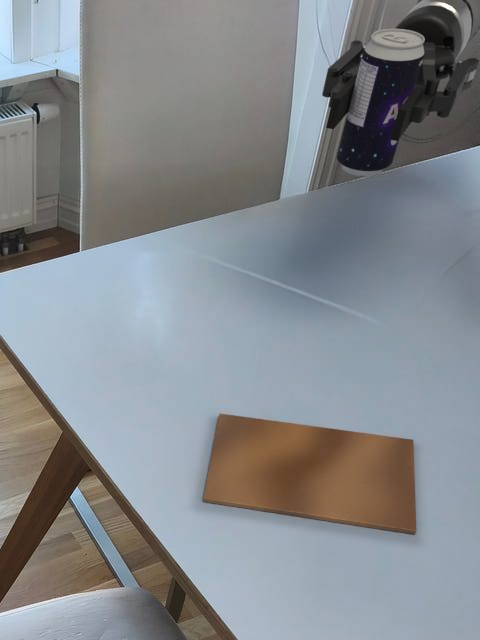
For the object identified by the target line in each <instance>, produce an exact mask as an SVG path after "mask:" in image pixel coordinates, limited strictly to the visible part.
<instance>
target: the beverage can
mask: <svg viewBox="0 0 480 640" xmlns="http://www.w3.org/2000/svg"><path fill="white" fill-rule="evenodd" d="M424 41H425V38H424V37H423V35H421V34H419V33H417V32H414V31H411V30H405V29H395V28H384V29H379V30H376V31H374V32H373V33H372V34H371V36H370V40H369V41H368V43H367V44H366V47H365V48H364V50H363V54H362V58H361V62H360V66H359V70H358V74H357V78H356V82H355V86H354V90H353V94H352V98H351V102H350V106H349V109H348V113H347V114H346V116H345V117H346V118H345V122H344V126H343V130H342V134H341V137H340V142H339V146H338V149H337V154H336V160H337V161H338V163H339V164H340V165H341V169H342V170H343V171H344V172H345V173H347V174H350V175H352V176H356V177H374V176H377V175H380V174H381V173H382V172H383V171H384V170H386V169H387V168H389V167H390V166H391V165H392V164H393V162H394V159H395V155H396V151H397V148H398V145H399V141H400V139H399V140H398V141H395V140H390V138H391V135H392V131H393V128H394V124H395V121H396V118H397V114H398V111H399V109H400V107H401V106H402V105H403V103H404V102H405V101H406V99H407V98H408V97H409V95H410V94H411V93H412V92H413V91H414V89H415V85H416V82H417V79H418V75H419V72H420V69H421V65H422V62H423V59H424V55H425V54H424V47H423V43H424Z"/></svg>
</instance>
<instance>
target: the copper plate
mask: <svg viewBox="0 0 480 640" xmlns="http://www.w3.org/2000/svg"><path fill="white" fill-rule="evenodd" d="M414 445H415V444H414V439H413V438H412V439H411V438H403V437H396V436H390V435H381V434H375V433H373V434H372V433H367V432H359V431H351V430H344V429H339V428H338V429H337V428H331V427H322V426H316V425H308V424H302V423H293V422H288V421H287V422H286V421H279V420H273V419H272V420H271V419H263V418H256V417H249V416H241V415H234V414H227V413H219V414H218V418H217V425H216V430H215V434H214V440H213V445H212V449H211V450H212V451H211V455H210V456H211V457H210V461H209V465H208V472H207V477H206V483H205V488H204V494H203V499H202V502H204V503H207V504H215V505H221V506H227V507H234V508H241V509H248V510H253V511H254V510H255V511H259V512H260V511H261V512H266V513H273V514H280V515H286V516H292V517H293V516H294V517H299V518H305V519H313V520H319V521H326V522H332V523H338V524H344V525H350V526H357V527H364V528H369V529H370V528H371V529H375V530H376V529H377V530H383V531H389V532H397V533H402V534H410V535H416V533H417V509H416V508H417V506H416V505H417V504H416V477H415V476H416V475H415V473H416V471H415V446H414Z"/></svg>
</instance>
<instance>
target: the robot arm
mask: <svg viewBox="0 0 480 640" xmlns="http://www.w3.org/2000/svg"><path fill="white" fill-rule="evenodd" d="M394 29H405V30H411V31H414V32H417V33H419V34H421V35H423V37H424V38H425V41H424V43H423V47H424V54H425V55H424V59H423V62H422V65H421V69H420V72H419V75H418V79H417V82H416V85H415V89H414V91H413V92H412V93H411V94H410V95H409V97H408V98H407V99H406V101H405V102H404V103H403V105H402V106H401V107H400V109H399V111H398V114H397V118H396V121H395V124H394V128H393V131H392V135H391V138H390V140H395V141H398V140H399V141H400V139H401V138H402V136H403V135H404V133H405V132H406V131H407V129H408V128H409V127H410V125H411V124H412V123H415V124H421V123H423V122H424V120H425V119H426V117H428V116H430V113H432V112H434V113H435V112H436V116H437V117H439V118H443V119H444V118H445V119H446V118H448V117H449V116H450V114H451V113H452V111H453V109H454V107H455V105H456V103H457V101H458V100H459V98H460V96H461V94H462V92H464V91H466V90H468V89H470V88H471V86H472V84H473V80H474V79H475V75H476V72H477V69H478V66H479V63H480V60H479V58H476V57H469V58H467V59H464V60H462V59H458V58H459V56H460V55H461V53H462V52H464V49H465V48H466V46H467V45H468V43H469V42H470V41H472V40H473V38H474V37H475V36H476V35H477V33H478V31H479V30H480V0H417V1H416V4H415V5H414V6H413V7H412V8H411V9H410V11H408V12H407V13H406V15H405V16H404V17H403V18H402V19H401V21H400V22H399V23H398V24H397V25H396V27H394ZM366 46H367V44H366V45H365V44H364V43H363V41H361V40H358V39H355V40H352V41H351V42H350V45H349V49H347V51H346V52H345V53H343V55H341V56H340V57H339V58H338V59H337V60H336V61H335V62H333V64H332V65H330V66H329V67H328V68H327V70H326V76H325V81H324V84H323V89H322V93H321V96H322V97H323V98H327V99H329V102H328V108H330V109H329V114H328V118H327V122H326V126H325V129H329V130H334V129H335V128H336V127H337V126H338V125H339V123H340V122H341V121H342V120H343V119H344V118H345V117H346V116H347V113H348V109H349V106H350V102H351V98H352V94H353V90H354V86H355V82H356V78H357V74H358V70H359V66H360V62H361V58H362V54H363V50H364V48H365V47H366ZM457 59H458V60H457ZM456 61H457V62H456ZM447 78H448V79H449V80H448V81H447V83H446V85H445V87H444V90H443V91H440V90H439V91H438V88H439V85H440V82H441V80H445V79H447Z"/></svg>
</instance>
